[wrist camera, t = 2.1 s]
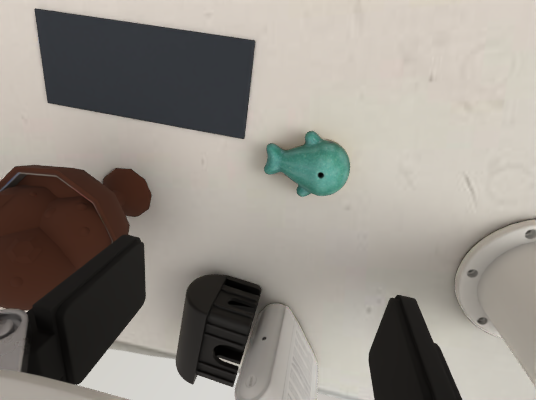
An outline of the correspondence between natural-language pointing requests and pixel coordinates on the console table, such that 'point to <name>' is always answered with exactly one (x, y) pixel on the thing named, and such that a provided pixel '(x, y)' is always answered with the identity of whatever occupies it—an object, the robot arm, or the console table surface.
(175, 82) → the plate
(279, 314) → the photo printer
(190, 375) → the end cap
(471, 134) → the console table surface
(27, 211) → the ice cream bowl
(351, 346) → the console table surface
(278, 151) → the whale figurine
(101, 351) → the robot arm
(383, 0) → the console table surface
